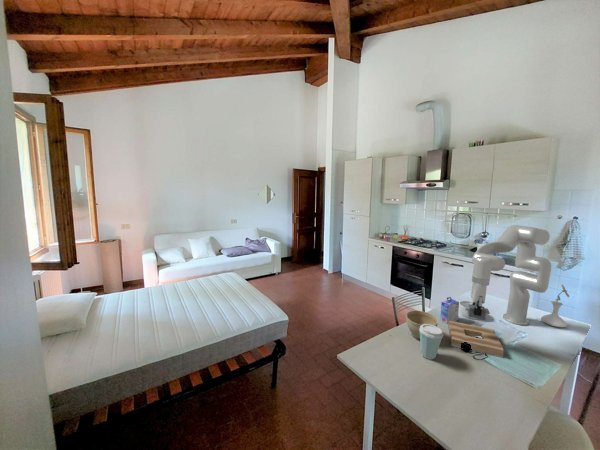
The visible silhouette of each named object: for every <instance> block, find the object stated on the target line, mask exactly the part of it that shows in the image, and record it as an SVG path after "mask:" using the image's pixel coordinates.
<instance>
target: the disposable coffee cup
mask: <svg viewBox="0 0 600 450" xmlns="http://www.w3.org/2000/svg"><path fill="white" fill-rule="evenodd" d="M419 331H420V339H419V342H420V343H419V344H420V345H419V346H420V354H421V356H422V357H424V358H425V359H427V360H434V359H436V356H437V354H438V351H439V348H440V345H441V341H442V338H443V337H444V332H443V330H442V329H441V328H440V327H438V326H437V327H436V326H434V325H430V324H423V325H421V326H420V329H419Z"/></svg>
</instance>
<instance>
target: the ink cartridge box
mask: <svg viewBox="0 0 600 450" xmlns="http://www.w3.org/2000/svg"><path fill="white" fill-rule="evenodd" d="M459 302H460V301H458V300H456V299H453V298H452V297H451V296H448V297H446V300H443V301H441V302H440V303H441V305H440V306H441V308H440V318H439V319H440V321H442V322H444V323H445V324H449V321H453V322H458V321H459V312H460V311H459Z"/></svg>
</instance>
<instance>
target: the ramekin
mask: <svg viewBox="0 0 600 450" xmlns="http://www.w3.org/2000/svg"><path fill="white" fill-rule="evenodd" d="M458 302H459V311H458V312H459V313H460V315H461V316H462V317H465V318H467V319H470V320H479V319H478V318H473V317H469V316H468V313H467V312H468V310H466V309H465V305H468V304H473V301H472V300H461V301H458Z"/></svg>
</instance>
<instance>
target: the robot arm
mask: <svg viewBox="0 0 600 450" xmlns="http://www.w3.org/2000/svg"><path fill="white" fill-rule="evenodd" d="M549 240H550V233H549V231H548V230H546V229H543V228H542V229H541V228H538V227H534V226H533V227H532V226H525V225H515V224H514V225H510V226H509V227H507V228H506V229H505V230H504V231H503V233H502V234H501V235H500V236H499V237H498V239H496V240H494V241H491V242H487V243H485V244H483V245H481V246H479V248H478V249H477V250H476V251H475V252H474V254H473V255H472V258H471V262H472V263H473V269H472V277H471V283H472V285H471V289H470V291H471V292H470V298H471V302H473V304H472V305H475V307H474V315H478V316H481V313H482V306H483V305H484V304H485V303H486V298H487V297H486V295H487V287H488V286H490V282H491V281H490V279H491V273H492V272H499V271H501V270H503V269H505V266H506V261H505V259H504V258H502V257H500V256H497V255H492V254H502V253H510V252H512V251H513V250H515V248H516V252H515V253H516V255H515V264H514V266H515V267H516V268H518V269H519V270H514V271H512V272H511V273H510V275H509V283H510V284H509V287H510V288H509V295H508V301H507V309H506V313H504V314H503V315H502V318H503V319H504V320H505V321H507V322H509V323H511V324H514V325H517V326H518V325H519V326H528V325H529V324H530V320H528V319H527V315H528V309H529V303H530V298H531V295H530V291H532V292H537V293H541V294H543V293H545V292H546V291H547V290H548V287H549V282H550V277H551V273H552V272H551V271H552V262H551V261H550V260H549V259H548V258H545V257H540V256H537V255H536V251H537V246H536V245H540V246H542V245H546V244H547V243H548V242H549Z"/></svg>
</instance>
